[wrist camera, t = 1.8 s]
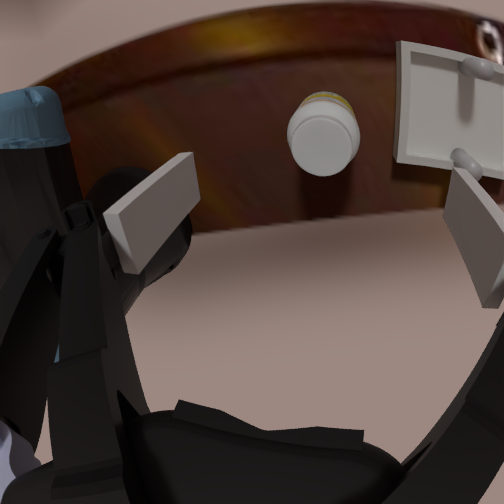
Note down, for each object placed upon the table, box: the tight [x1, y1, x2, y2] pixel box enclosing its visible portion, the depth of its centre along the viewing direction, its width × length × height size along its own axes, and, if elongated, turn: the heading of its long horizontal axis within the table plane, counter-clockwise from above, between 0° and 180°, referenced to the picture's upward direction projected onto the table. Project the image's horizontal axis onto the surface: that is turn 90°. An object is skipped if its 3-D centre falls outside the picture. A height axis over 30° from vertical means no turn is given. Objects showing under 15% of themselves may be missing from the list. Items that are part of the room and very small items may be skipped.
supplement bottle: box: [287, 92, 360, 176], centre depth 22 cm, size 5×5×10 cm
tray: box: [393, 41, 504, 181], centre depth 19 cm, size 13×11×5 cm
